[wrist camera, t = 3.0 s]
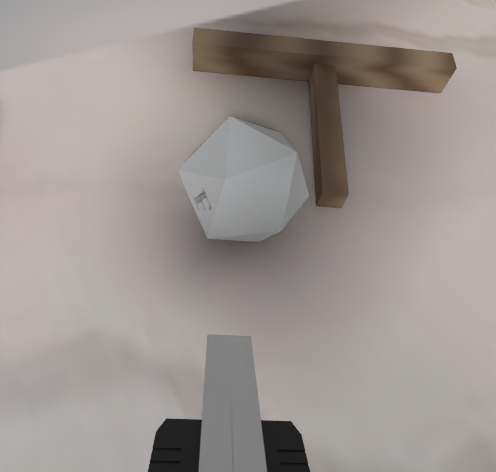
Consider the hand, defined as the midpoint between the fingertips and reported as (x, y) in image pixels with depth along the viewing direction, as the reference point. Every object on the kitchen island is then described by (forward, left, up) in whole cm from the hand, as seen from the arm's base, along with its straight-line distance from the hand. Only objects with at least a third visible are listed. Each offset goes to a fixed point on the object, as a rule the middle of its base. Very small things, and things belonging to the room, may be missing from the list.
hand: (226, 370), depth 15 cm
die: (-1, -14, -13) cm, 20 cm away
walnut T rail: (-8, -23, -13) cm, 28 cm away
